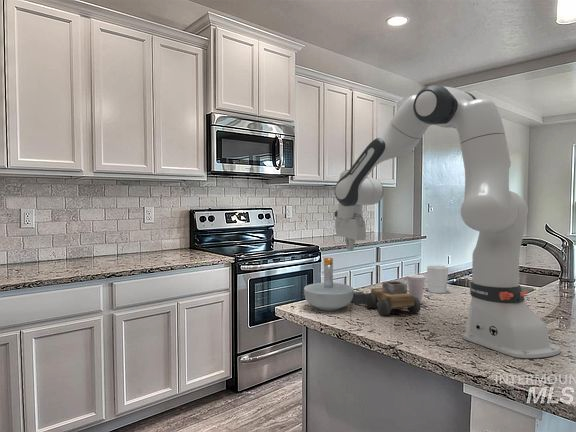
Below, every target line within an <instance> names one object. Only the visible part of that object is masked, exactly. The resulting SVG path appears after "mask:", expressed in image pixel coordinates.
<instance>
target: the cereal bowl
mask: <svg viewBox="0 0 576 432" xmlns="http://www.w3.org/2000/svg"><path fill="white" fill-rule="evenodd" d="M353 292H355V291H354V288H353V287H352V285H349V284H345V283H338V282H333V288H324V282H317V283H316V282H315V283H311V284H307V285H306V286H304V288H303V294H304V298H305V300H306V302H307V303H308V304H309V305H311V306H313V307H315V308H317V309H318V310H321V311H326V312H331V311H338V310H341V308H343V307H346V306H348V305H349V304H350V303H351V300H352V298H353Z"/></svg>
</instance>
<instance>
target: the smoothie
mask: <svg viewBox="0 0 576 432" xmlns="http://www.w3.org/2000/svg"><path fill="white" fill-rule="evenodd" d="M417 266H418V265H417V263H414V274H407V275H406V279H407V287H408V292H409V293H408V294H410V295H413V296H414V297H417V298H418V299H419V301H420V305H421V304H422V302H423V294H424V286H425V280H426V275H422V274H417V273H418V272H417V269H418V267H417Z"/></svg>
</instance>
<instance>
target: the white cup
mask: <svg viewBox="0 0 576 432" xmlns="http://www.w3.org/2000/svg"><path fill="white" fill-rule="evenodd" d="M448 275H449V267H448V266H445V265H440V264H439V265H436V264H435V265H434V264H433V265H427V266H426V276H427V277H426V278H427V286H428V287H427V289H428V290H427V291H428V293H431V294H446V293H447V290H448V289H447V288H448V287H447V286H448V278H449V276H448Z"/></svg>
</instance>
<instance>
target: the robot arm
mask: <svg viewBox="0 0 576 432" xmlns="http://www.w3.org/2000/svg"><path fill="white" fill-rule="evenodd" d="M432 125H433V126H436V127H440V128H446V129H447V128H448V129H456V131H457V133H458V137H459V144H460V150H461V156H462V161H463V167H464V177H465V178H464V199H463V202H462V204H461V207H460V215H461V219H462V221H463V223H464V225H466V226H467V227H468V228H470V229H472V230H474V231H477V232H478V237H477V241H476V243H475V245H476V246H475V248H474V249H473V251H472V259H471V260H472V263H471V264H472V267H471V269H472V270H471V271H472V277H471V278H472V279H471V281H470V286H469V293H470V296H471V300H470V303H469V306H468V310H467V311H468V312H467V318H466V319H467V320H466V329H465V332H463V336H462V338H463V340H466V341H469V342H471V343H474V344H477V345H479V346H482V347H484V348H488V349H491V350H493V351H497V352H499V353H501V354H504V355H506V356H510V357H512V358H518V359H519V358H522V359H535V358H536V359H537V358H538V359H539V358H547V357H552V356H557V355H559V354H560V353H561V347H560V346H559V345H556V344H554V343H552V342H551V341H550V337H549V331H548V326H547V324H546V322H544V321H543V320H542V319H541V317H539V315H537V314H536V313H535V312H534V310H533V309H531V307H530V306H529V305H528V304H527V303H526V302H525V301H526V300H525V297H528V296H529V295H528V293H529V291H523V290H522V286H521V285H520V255H521V254H520V253H521V249H522V242H523V237H524V231H525V226H526V225H525V224H526V219H527V217H528V213H529V206H528V203H527V201H526V200H525V199H524V197H522V196H521V195H520V194H518V193H516V192H514V191H511V190H510V187H509V186H510V184H509V183H510V182H509V181H510V179H509V178H510V177H509V176H510V169H511V163H512V162H511V157H510V153H509V147H508V143H507V136H506V132H505V131H506V130H505V127H504V125H503V121H502V118H501V114H500V113H499V110H498V107H497V106H496V104H495V102H494V101H493V100H490V99H488V98H477V97H476V96H475V95H473V94H472V93H470V92H467V91H463V90H461V89H458V88H456V87H451V86H443V85H440V84H436V85H435V84H434V85H428V86H426V87H423V88H422V89H421V90H419V91H418V93H417V94H413V95H410V96H409V97H407V98H406V99H405V101H404V102H403V103H402V104H401V106H400V107H399V108H398V110H397V111H396V112H395V114H394V115H393V117H392V118H391V120H390V121H389V122H388V125H386V127H385V128H384V130H383V131H382V132H381V133H380V134H379V135H378V136H377V137H376V138H375V139H373V140H372V141H371V142H370V143H369V144H368V145H367V146H366V147H365V148H364V149H363V151H362V152H361V153H360V155H359V157H358V158H357V159H356V160H355V162H354V163H353V164H352V166H351V167H350V168H349V169H346V170H342V172H341V173H340V175H339V179H338V181H337V182H336V184H335V187H334V196H335V199H336V200H337V201H338V203H337V204H338V206H337V207H338V208H337V209H336V210H335V211H334V213H333V216H334V218H335V219H334V228H335V234H336V236H338V237H343V238H344V241H345V249H346V251H347V250H348V251H354V249H355V248H354V247H355V244H356V241H365V240H366V238H367V233H366V232H367V230H366V229H367V228H366V227H367V226H366V221H365V220H364V217H363V206H367V205H368V206H369V205H370V206H371V205H376V204H378V203H379V202H380V201H381V200H382V199H383V197H384V185H383V183H382V182H381V180H379V179H377V178H374V177H371V176H369V175H370V174H371V173H372V171H373V170H374V169H375V167H376V166H378V165H379V164H381V163H383V162H385V161H388V160H391V159H394V158H400V157H403V156H405V155H408V154H409V153H410V152H412V151H413V150H414V149H415V148H416V146H417V145H418V144H419V142H420V141H421V139H422V138H423V137H424V134H425V133H426V131H427V130H428V129H429V127H431V126H432Z"/></svg>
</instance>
